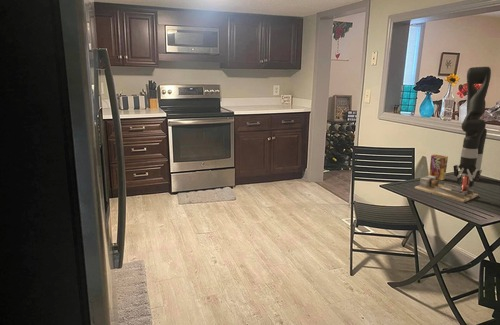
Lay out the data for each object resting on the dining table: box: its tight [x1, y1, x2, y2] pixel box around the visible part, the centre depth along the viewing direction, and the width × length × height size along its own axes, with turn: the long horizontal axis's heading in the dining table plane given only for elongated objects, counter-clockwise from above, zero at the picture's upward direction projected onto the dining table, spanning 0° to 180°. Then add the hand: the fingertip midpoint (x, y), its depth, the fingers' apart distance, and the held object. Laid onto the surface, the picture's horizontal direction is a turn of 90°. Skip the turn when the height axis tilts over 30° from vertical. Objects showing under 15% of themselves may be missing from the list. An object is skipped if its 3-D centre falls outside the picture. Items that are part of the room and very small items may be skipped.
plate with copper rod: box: [451, 175, 471, 196], centre depth 196 cm, size 8×6×11 cm
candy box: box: [428, 153, 449, 181], centre depth 227 cm, size 9×4×15 cm, turn 39°
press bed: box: [414, 174, 479, 203], centre depth 203 cm, size 16×28×6 cm, turn 33°
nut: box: [431, 179, 440, 188], centre depth 209 cm, size 4×4×4 cm
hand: (464, 185), depth 194 cm, fingers open, 5 cm apart
